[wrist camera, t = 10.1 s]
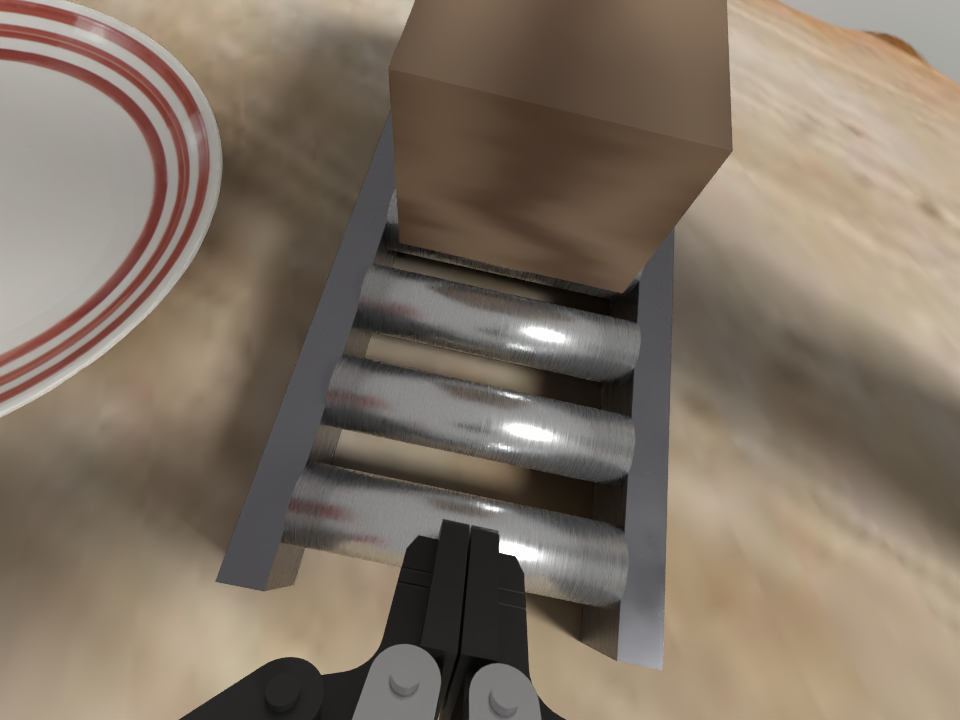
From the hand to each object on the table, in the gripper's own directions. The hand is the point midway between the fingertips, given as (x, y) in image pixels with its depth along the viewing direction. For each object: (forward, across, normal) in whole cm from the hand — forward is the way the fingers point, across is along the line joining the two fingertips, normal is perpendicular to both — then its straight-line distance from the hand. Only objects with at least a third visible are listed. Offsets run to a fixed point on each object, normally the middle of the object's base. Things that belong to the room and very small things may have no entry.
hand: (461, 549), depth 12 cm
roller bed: (+15, 0, -3) cm, 16 cm away
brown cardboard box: (+16, 0, -10) cm, 19 cm away
